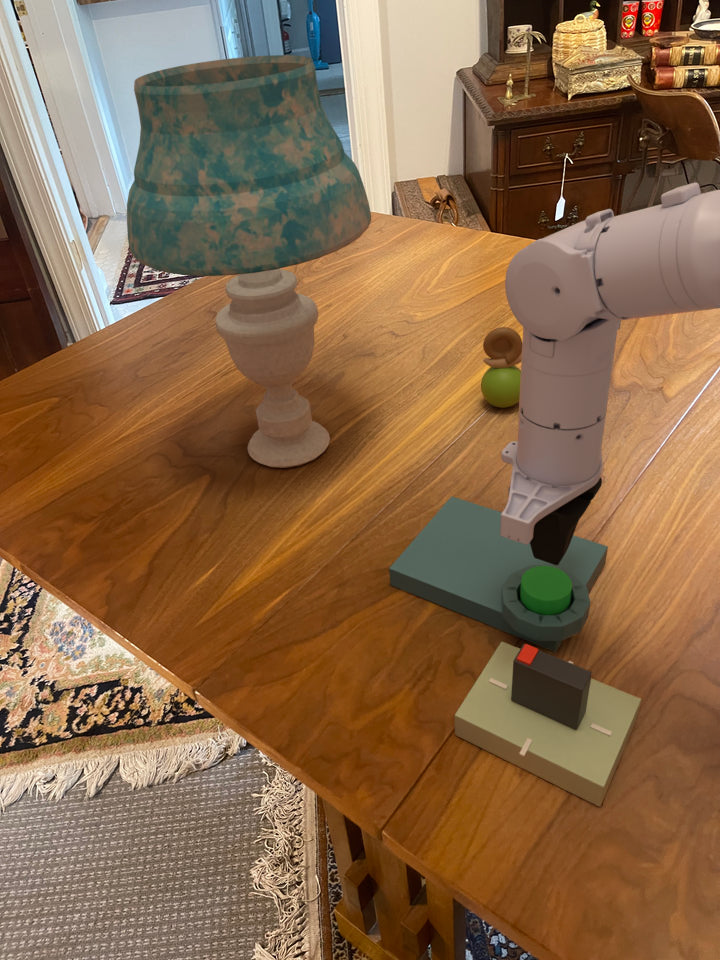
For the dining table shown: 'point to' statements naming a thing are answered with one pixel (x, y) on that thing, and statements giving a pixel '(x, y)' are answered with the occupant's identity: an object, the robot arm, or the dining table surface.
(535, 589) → the light button
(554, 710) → the dimmer knob
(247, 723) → the dining table surface
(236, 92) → the table lamp
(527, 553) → the switch box
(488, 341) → the snail figurine
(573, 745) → the dimmer panel
